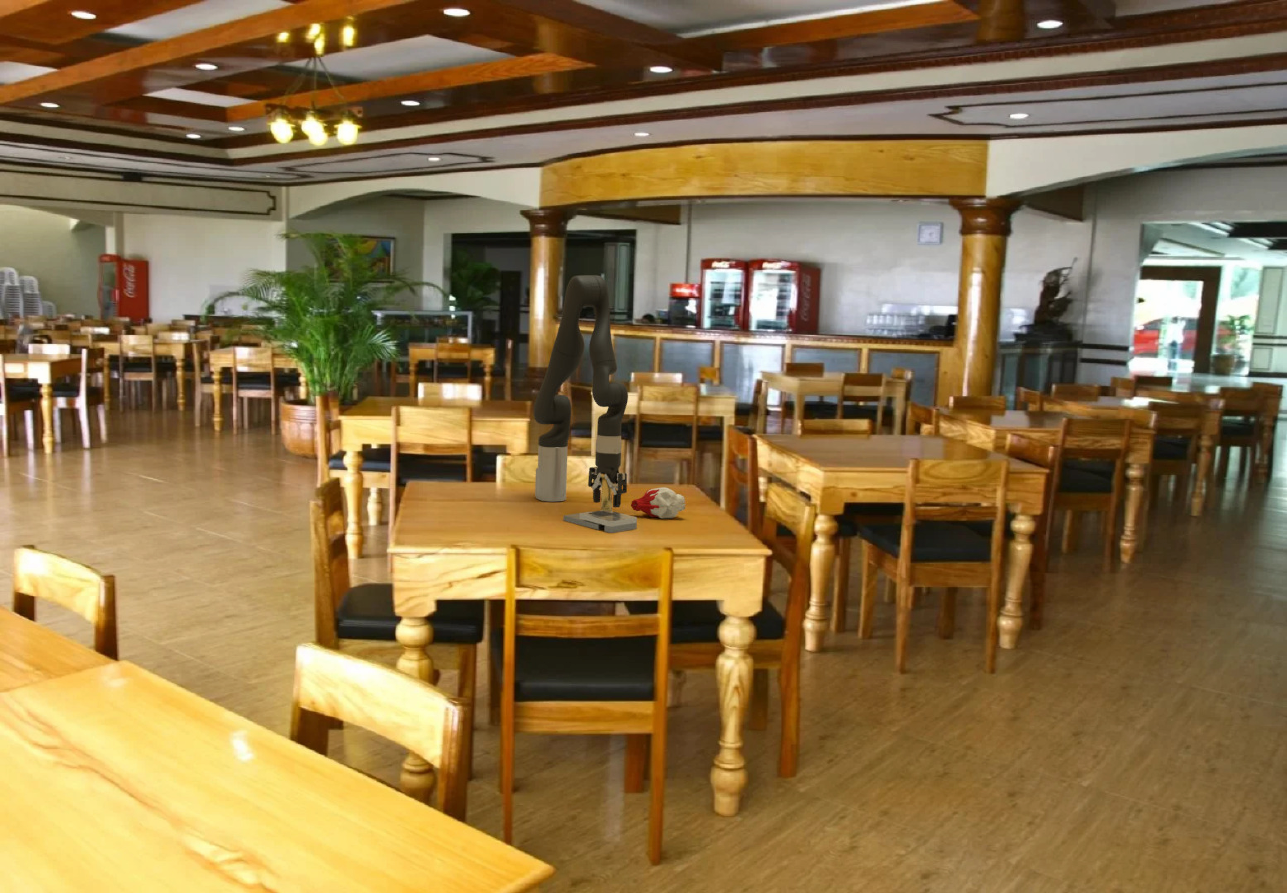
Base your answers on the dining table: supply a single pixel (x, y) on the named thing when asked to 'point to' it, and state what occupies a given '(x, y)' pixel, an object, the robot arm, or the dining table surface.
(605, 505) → the pin
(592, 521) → the grey slotted base plate
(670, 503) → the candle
